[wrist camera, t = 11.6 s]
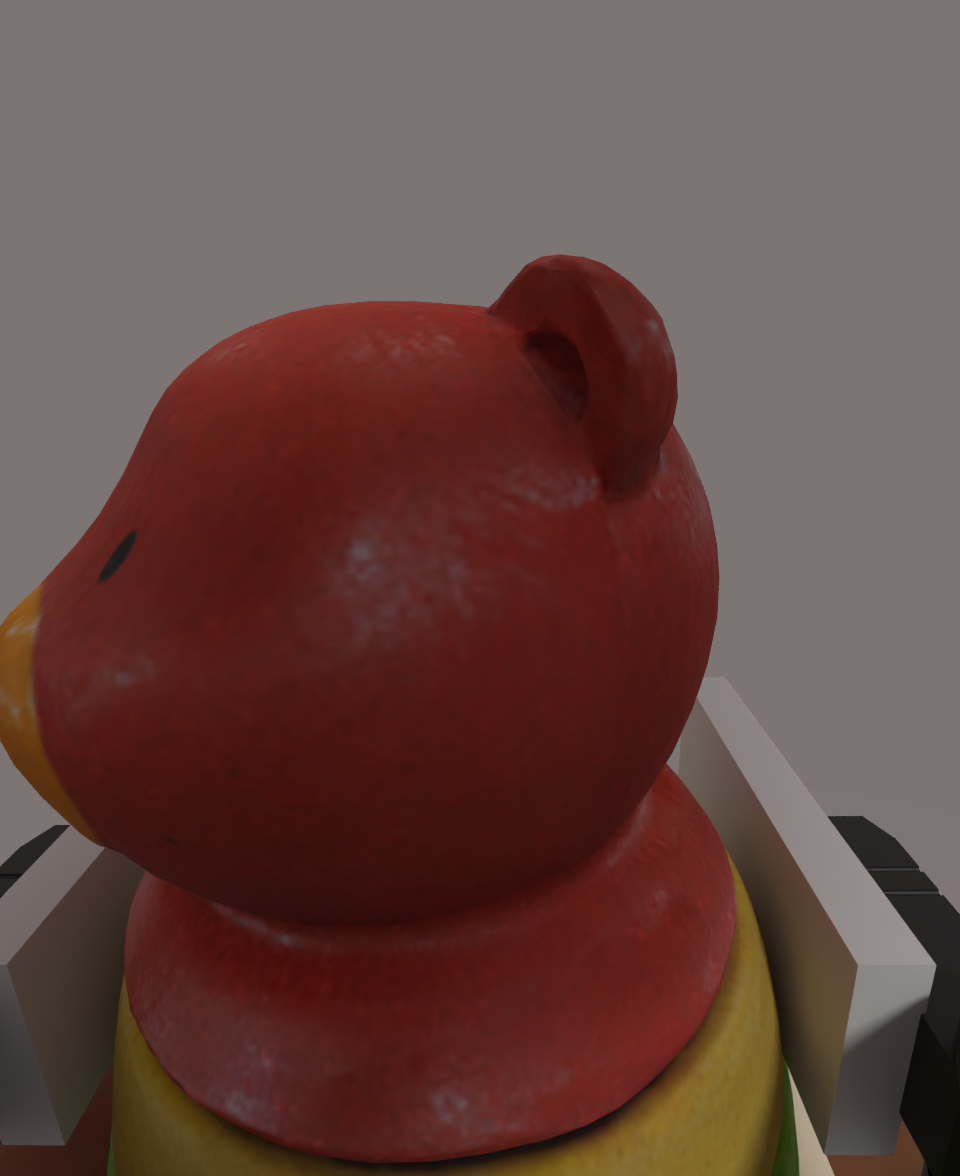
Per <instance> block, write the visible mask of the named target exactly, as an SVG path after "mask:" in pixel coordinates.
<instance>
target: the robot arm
mask: <svg viewBox="0 0 960 1176" xmlns="http://www.w3.org/2000/svg"><path fill="white" fill-rule="evenodd" d="M678 777H679V778H680V779H681V780H682V781H683V783H684V784H685V785H686V787H687V788H688V789H689V791H690V792H691V793H692V795H693V796H694V798H695V799H696V800H697V802H698V803H699V804H700V806H701V807H702V808H703V810H704V811H705V812H706V814H707V815H708V817H709V818H710V820H711V822H712V823H713V825H714V826H715V828H716V830H717V831H718V834H719V836H720V838H721V841H722V843H723V845H724V847H725V849H726V850H727V852H728V853H729V855H730V857H731V858H732V860H733V862H734V864H735V866H736V867H737V869H738V871H739V873H740V875H741V877H742V880H743V882H744V884H745V886H746V889H747V891H748V893H749V896H750V898H751V902H752V905H753V908H754V911H755V915H756V918H757V921H758V924H759V928H760V931H761V934H762V937H763V941H764V944H765V949H766V954H767V959H768V964H769V968H770V973H771V978H772V983H773V988H774V993H775V999H776V1005H777V1011H778V1017H779V1026H780V1036H781V1047H782V1054H783V1056H784V1059H785V1061H786V1064H787V1066H788V1069H789V1071H790V1073H791V1076H792V1078H793V1081H794V1083H795V1086H796V1088H797V1090H798V1093H799V1095H800V1098H801V1100H802V1103H803V1105H804V1107H805V1110H806V1112H807V1115H808V1117H809V1119H810V1122H811V1124H812V1127H813V1129H814V1132H815V1134H816V1136H817V1139H818V1141H819V1144H820V1146H821V1149H822V1151H823V1153H824V1155H894V1150H895V1146H896V1142H897V1137H898V1133H899V1128H900V1124H901V1120H902V1119H903V1121H904V1123H905V1124H906V1126H907V1128H908V1130H909V1132H910V1134H911V1136H912V1137H913V1139H914V1141H915V1143H916V1145H917V1147H918V1149H919V1150H920V1152H921V1154H922V1156H923V1158H924V1164H923V1169H922V1173H921V1176H960V914H959V913H958V912H957V911H956V910H955V908H954V907H953V906H952V905H951V904H950V902H949V901H948V900H947V899H946V898H945V897H944V896H943V895H940V894H939V892H938V888H937V887H936V886H935V885H934V884H933V882H931V880H930V879H929V878H928V877H927V875H926V874H925V873H924V872H920V870H919V866H918V865H917V864H916V862H915V861H914V860H913V859H912V858H911V856H910V855H909V854H908V853H907V852H906V851H905V849H904V848H903V847H902V846H901V845H900V844H899V842H898V841H897V840H896V839H895V838H893V837H892V836H891V835H889V834H888V833H886V832H885V831H883V830H882V829H880V828H879V827H877V826H876V825H874V824H873V823H871V822H870V821H868V820H867V819H865V818H864V817H863V816H835V817H833V816H829V817H827V816H826V814H825V813H824V811H823V810H822V809H821V807H820V806H819V805H818V804H817V802H816V801H815V799H814V798H813V797H812V795H811V794H810V793H809V791H808V790H807V789H806V787H805V786H804V784H803V783H802V782H801V780H800V779H799V778H798V776H797V775H796V773H795V772H794V771H793V769H792V768H791V767H790V765H789V764H788V763H787V761H786V760H785V759H784V757H783V756H782V754H781V753H780V752H779V750H778V749H777V748H776V746H775V745H774V744H773V742H772V741H771V740H770V738H769V737H768V736H767V734H766V733H765V732H764V730H763V729H762V728H761V726H760V725H759V723H758V722H757V721H756V719H755V718H754V716H753V715H752V714H751V712H750V711H749V710H748V708H747V707H746V705H745V704H744V703H743V701H742V700H741V699H740V697H739V696H738V695H737V693H736V692H735V690H734V689H733V688H732V686H731V685H730V684H729V682H728V681H727V680H726V678H725V677H703V680H702V683H701V686H700V689H699V692H698V695H697V698H696V700H695V703H694V706H693V709H692V711H691V713H690V715H689V718H688V720H687V722H686V724H685V726H684V729H683V731H682V733H681V744H680V760H679V774H678ZM145 872H146V870H145V869H143V868H142V867H140V866H139V865H138V864H136V863H135V862H133V861H132V860H130V859H129V858H127V857H126V856H124V855H123V854H121V853H119V852H116V851H114V850H111V849H109V848H106V847H101V846H99V845H97V844H95V843H93V842H91V841H90V840H89V839H87V838H86V837H84V836H83V835H82V834H80V833H79V832H78V831H77V830H76V829H75V828H74V827H73V826H72V825H55V826H53V827H52V828H50V829H48V830H47V831H45V832H44V833H42V834H40V835H39V836H37V837H36V838H34V839H33V840H31V841H29V842H28V843H26V844H25V845H23V846H21V847H20V848H19V849H18V850H17V851H16V852H15V853H14V854H13V855H12V856H11V857H10V858H9V859H8V860H7V861H6V862H5V863H3V864H2V866H0V1139H1V1142H2V1144H3V1145H66V1143H67V1141H68V1140H69V1138H70V1136H71V1134H72V1133H73V1131H74V1129H75V1127H76V1126H77V1124H78V1122H79V1120H80V1118H81V1117H82V1115H83V1113H84V1111H85V1110H86V1108H87V1106H88V1104H89V1103H90V1101H91V1099H92V1097H93V1096H94V1094H95V1092H96V1090H97V1089H98V1087H99V1085H100V1083H101V1081H102V1080H103V1078H104V1076H105V1074H106V1073H107V1071H108V1069H109V1067H110V1066H111V1064H112V1062H113V1055H114V1046H115V1036H116V1026H117V1017H118V1007H119V997H120V992H121V987H122V982H123V977H124V945H125V935H126V928H127V923H128V918H129V913H130V907H131V903H132V901H133V898H134V895H135V893H136V890H137V887H138V885H139V883H140V881H141V879H142V877H143V876H144V874H145Z"/></svg>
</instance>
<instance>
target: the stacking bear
mask: <svg viewBox="0 0 960 1176" xmlns="http://www.w3.org/2000/svg"><path fill="white" fill-rule="evenodd" d="M677 398H678V394H677V371H676V363H675V357H674V354H673V351H672V347H671V344H670V341H669V338H668V335H667V332H666V329H665V326H664V323H663V320H662V318H661V317H660V315H659V314H658V312H657V311H656V309H655V308H654V306H653V305H652V304H651V303H650V302H649V301H648V300H647V299H646V297H645V296H644V295H643V294H642V293H641V292H640V291H639V290H638V289H637V288H636V287H635V286H634V285H633V284H632V283H631V282H630V281H628V280H627V279H626V278H624V277H623V276H621V275H620V274H619V273H617V272H616V271H614V270H612V269H610V268H609V267H608V266H606V265H604V264H602V263H600V262H597V261H593V260H591V259H588V258H585V257H577V256H568V255H553V256H545V257H540V258H538V259H536V260H534V261H533V262H531V263H529V264H527V265H526V266H525V267H524V268H523V269H522V270H521V271H520V273H519V274H518V275H517V276H516V277H515V278H514V280H513V281H512V282H511V283H510V284H509V285H508V287H507V288H506V289H505V290H504V292H503V293H502V294H501V296H500V297H499V299H497V300H496V301H495V302H494V303H493V304H492V305H491V306H490V307H489V308H487V307H480V306H468V305H455V304H442V303H428V302H413V301H411V302H410V301H407V302H406V301H402V302H401V301H391V302H390V301H369V302H358V303H347V304H335V305H324V306H320V307H315V308H310V309H305V310H300V311H296V312H291V313H288V314H285V315H282V316H278V317H275V318H272V319H269V320H267V321H264V322H261V323H259V324H256V325H254V326H251V327H249V328H246V329H244V330H242V331H240V332H238V333H236V334H234V335H232V336H230V337H228V338H226V339H224V340H222V341H221V342H219V343H218V344H216V345H215V346H214V347H212V348H211V349H210V350H208V351H207V352H205V353H204V354H203V355H201V356H200V357H199V358H198V359H196V360H195V361H194V362H193V363H192V364H190V365H189V366H188V367H187V368H186V369H184V370H183V371H182V373H181V374H180V375H179V376H178V377H177V378H176V379H175V380H174V381H173V382H172V384H171V385H170V386H169V387H168V388H167V389H166V391H165V392H164V394H163V396H162V397H161V399H160V400H159V402H158V404H157V405H156V407H155V409H154V410H153V412H152V414H151V416H150V418H149V420H148V422H147V424H146V427H145V429H144V431H143V433H142V435H141V437H140V439H139V441H138V444H137V446H136V448H135V450H134V452H133V454H132V456H131V459H130V461H129V463H128V465H127V467H126V469H125V471H124V473H123V475H122V477H121V479H120V480H119V482H118V484H117V486H116V487H115V489H114V491H113V492H112V494H111V496H110V498H109V499H108V501H107V502H106V504H105V506H104V508H103V509H102V511H101V513H100V514H99V516H98V517H97V518H96V520H95V521H94V522H93V524H92V525H91V526H90V528H89V529H88V530H87V531H86V533H85V534H84V535H83V536H82V538H81V539H80V540H79V542H78V543H77V544H76V545H75V546H74V548H73V549H72V550H71V551H70V552H69V553H68V554H67V555H66V556H65V557H64V559H63V560H62V561H61V562H60V563H59V564H58V565H57V566H56V567H55V568H54V570H53V571H52V572H51V573H50V574H49V575H48V576H47V577H46V579H45V580H44V581H43V582H42V583H41V584H40V585H39V586H38V587H37V588H36V589H35V590H34V591H33V592H32V593H31V594H30V595H29V596H28V597H27V598H26V599H24V600H23V601H22V602H21V603H20V604H19V605H18V606H17V607H16V608H15V609H14V610H13V611H12V612H11V613H9V615H8V616H7V618H6V619H5V621H4V622H3V623H2V625H1V626H0V741H1V743H2V744H3V746H4V748H5V750H6V751H7V753H8V755H9V757H10V758H11V760H12V762H13V764H14V765H15V766H16V768H17V769H18V770H19V771H20V772H21V773H22V775H23V776H24V777H25V778H26V779H27V781H28V782H29V783H30V784H31V785H32V786H33V788H34V789H35V790H36V791H37V792H38V793H39V795H40V796H41V797H42V798H43V799H45V800H46V801H47V802H48V803H49V804H50V805H51V806H52V807H53V808H54V809H55V810H56V811H57V812H58V813H59V814H60V815H61V816H62V817H63V818H65V819H66V820H67V821H68V822H69V823H70V824H71V825H72V826H73V827H74V828H75V829H76V830H77V831H78V832H79V833H80V834H82V835H83V836H84V837H86V838H87V839H89V840H90V841H91V842H93V843H95V844H97V845H99V846H101V847H106V848H109V849H111V850H114V851H116V852H119V853H121V854H123V855H124V856H126V857H127V858H129V859H130V860H132V861H133V862H135V863H136V864H138V865H139V866H140V867H142V868H143V869H145V870H146V872H145V874H144V876H143V877H142V879H141V881H140V883H139V885H138V887H137V890H136V893H135V895H134V898H133V901H132V903H131V907H130V913H129V918H128V923H127V928H126V935H125V945H124V977H123V982H122V987H121V992H120V997H119V1007H118V1017H117V1026H116V1036H115V1046H114V1055H113V1086H112V1127H111V1137H110V1146H109V1156H108V1166H107V1176H800V1175H799V1154H798V1144H797V1134H796V1124H795V1114H794V1104H793V1094H792V1088H791V1082H790V1077H789V1071H788V1066H787V1064H786V1061H785V1059H784V1056H783V1054H782V1047H781V1036H780V1026H779V1017H778V1011H777V1005H776V999H775V993H774V988H773V983H772V978H771V973H770V968H769V964H768V959H767V954H766V949H765V944H764V941H763V937H762V934H761V931H760V928H759V924H758V921H757V918H756V915H755V911H754V908H753V905H752V902H751V898H750V896H749V893H748V891H747V889H746V886H745V884H744V882H743V880H742V877H741V875H740V873H739V871H738V869H737V867H736V866H735V864H734V862H733V860H732V858H731V857H730V855H729V853H728V852H727V850H726V849H725V847H724V845H723V843H722V841H721V838H720V836H719V834H718V831H717V830H716V828H715V826H714V825H713V823H712V822H711V820H710V818H709V817H708V815H707V814H706V812H705V811H704V810H703V808H702V807H701V806H700V804H699V803H698V802H697V800H696V799H695V798H694V796H693V795H692V793H691V792H690V791H689V789H688V788H687V787H686V785H685V784H684V783H683V781H682V780H681V779H680V778H679V777H678V776H677V775H676V774H675V773H674V771H672V769H671V768H670V767H669V766H668V765H667V764H666V762H667V761H668V759H669V757H670V756H671V754H672V752H673V750H674V748H675V746H676V744H677V742H678V739H679V737H680V735H681V733H682V731H683V729H684V726H685V724H686V722H687V720H688V718H689V715H690V713H691V711H692V709H693V706H694V703H695V700H696V698H697V695H698V692H699V689H700V686H701V683H702V680H703V677H704V673H705V670H706V667H707V663H708V659H709V654H710V650H711V645H712V640H713V635H714V630H715V625H716V620H717V612H718V590H719V567H718V554H717V543H716V538H715V532H714V526H713V521H712V516H711V512H710V507H709V503H708V499H707V496H706V494H705V490H704V487H703V485H702V482H701V480H700V477H699V475H698V472H697V470H696V467H695V465H694V462H693V460H692V458H691V455H690V454H689V452H688V450H687V448H686V446H685V444H684V443H683V441H682V439H681V437H680V435H679V434H678V432H677V430H676V428H675V426H674V425H673V419H674V414H675V409H676V404H677Z"/></svg>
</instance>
